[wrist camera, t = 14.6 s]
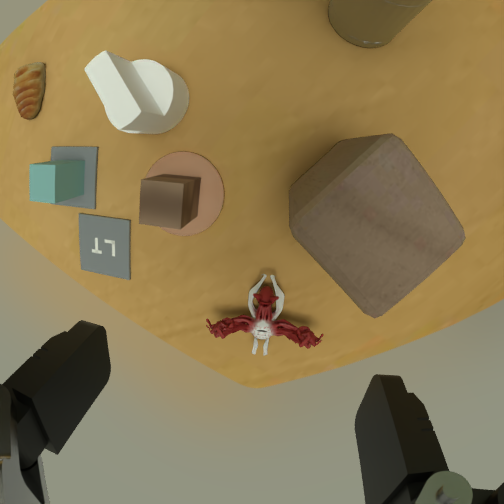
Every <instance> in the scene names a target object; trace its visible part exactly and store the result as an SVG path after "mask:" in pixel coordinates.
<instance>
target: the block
mask: <svg viewBox="0 0 504 504" xmlns="http://www.w3.org/2000/svg"><path fill="white" fill-rule="evenodd" d="M289 227H290V229H291V232H292V235H293V237H294V238H295V239H296V240H297V241H298V242H299V243H300V244H301V245H302V246H303V247H304V249H305V250H306V251H307V252H308V253H309V254H310V255H311V256H312V257H313V258H314V259H315V260H316V261H317V262H318V263H319V264H320V266H321V267H322V268H323V269H324V270H325V271H326V272H327V273H328V274H329V275H330V276H331V277H332V278H333V280H334V281H335V282H336V283H337V284H338V285H339V286H340V287H341V288H342V289H343V290H344V292H345V293H346V294H347V295H348V296H349V297H350V298H351V299H352V300H353V301H354V303H355V304H356V305H357V306H358V307H359V308H360V309H361V310H362V311H363V313H365V314H367V315H369V316H371V317H373V318H377V317H379V316H382V315H383V314H384V313H386V312H387V311H388V310H389V309H391V308H392V307H393V306H394V305H395V304H397V303H398V302H399V301H400V300H401V299H403V298H404V297H405V296H406V295H407V294H409V293H410V292H411V291H412V290H413V289H414V288H416V287H417V286H418V285H419V284H420V283H421V282H422V281H424V280H425V279H426V278H427V277H428V276H429V275H430V274H431V273H433V272H434V271H435V270H436V269H437V268H438V267H439V266H440V265H441V264H442V263H443V262H445V261H446V260H447V259H448V258H449V257H450V256H451V255H452V254H453V253H454V252H455V251H456V250H457V249H458V248H459V247H460V246H461V245H462V244H463V242H464V240H465V233H464V230H463V227H462V225H461V224H460V222H459V220H458V219H457V217H456V215H455V214H454V212H453V211H452V209H451V208H450V206H449V204H448V203H447V201H446V200H445V198H444V197H443V195H442V194H441V192H440V191H439V189H438V188H437V187H436V185H435V184H434V182H433V181H432V179H431V178H430V177H429V175H428V174H427V172H426V171H425V170H424V168H423V167H422V166H421V164H420V163H419V162H418V160H417V159H416V158H415V156H414V155H413V154H412V152H411V151H410V150H409V148H408V147H407V146H406V145H405V143H404V142H403V141H402V140H401V139H400V138H398V137H397V136H395V135H393V134H383V135H375V136H367V137H360V138H353V139H346V140H343V141H340V142H339V143H338V144H336V145H335V146H334V147H333V148H332V149H331V150H330V151H329V152H328V153H327V154H326V155H324V156H323V157H322V158H321V159H320V160H319V161H318V162H317V163H316V164H315V165H314V166H312V167H311V168H310V169H309V170H308V171H307V172H306V173H305V174H304V175H303V176H302V177H300V178H299V179H298V180H297V181H296V182H295V183H294V184H293V185H292V186H291V188H290V190H289Z"/></svg>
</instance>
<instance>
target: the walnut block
mask: <svg viewBox="0 0 504 504" xmlns="http://www.w3.org/2000/svg"><path fill="white" fill-rule="evenodd" d="M200 184H201V177H192V176H182V175H172V174H161V175H157V176H153V177H149V178H145V179H141V191H140V213H139V224H145V225H152V226H159V227H166V228H173V229H180V230H181V229H182V228H183V227H184V226H186V225H187V224H188V223H189V222H191V221H192V220H193V219H195V218H196V217H197V216H198V205H199V194H200Z"/></svg>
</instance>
